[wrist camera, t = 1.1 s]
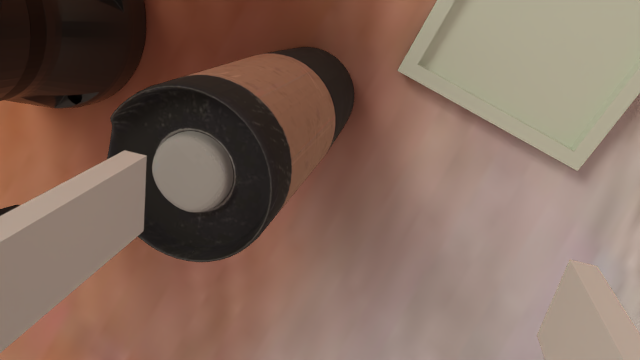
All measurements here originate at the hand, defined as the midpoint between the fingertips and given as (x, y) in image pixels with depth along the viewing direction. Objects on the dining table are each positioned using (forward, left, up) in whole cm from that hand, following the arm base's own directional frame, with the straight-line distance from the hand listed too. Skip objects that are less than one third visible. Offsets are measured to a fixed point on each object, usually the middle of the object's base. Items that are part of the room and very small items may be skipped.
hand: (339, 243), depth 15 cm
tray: (+6, +9, -23) cm, 26 cm away
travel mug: (-6, -3, -23) cm, 24 cm away
